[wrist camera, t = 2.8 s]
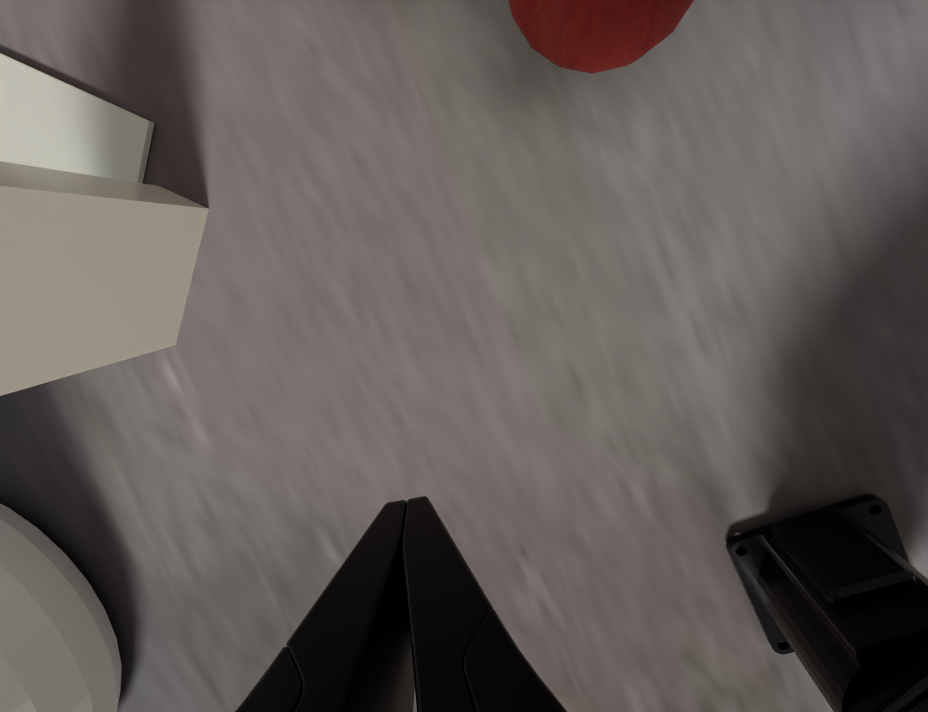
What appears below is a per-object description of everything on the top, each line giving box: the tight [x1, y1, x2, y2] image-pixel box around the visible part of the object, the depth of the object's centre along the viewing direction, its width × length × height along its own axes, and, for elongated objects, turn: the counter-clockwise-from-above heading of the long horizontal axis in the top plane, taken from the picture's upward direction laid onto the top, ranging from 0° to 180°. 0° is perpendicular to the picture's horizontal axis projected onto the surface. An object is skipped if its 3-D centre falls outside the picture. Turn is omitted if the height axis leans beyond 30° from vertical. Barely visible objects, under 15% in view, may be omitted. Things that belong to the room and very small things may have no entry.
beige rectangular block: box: [0, 161, 209, 396], centre depth 16 cm, size 3×7×10 cm, turn 156°
